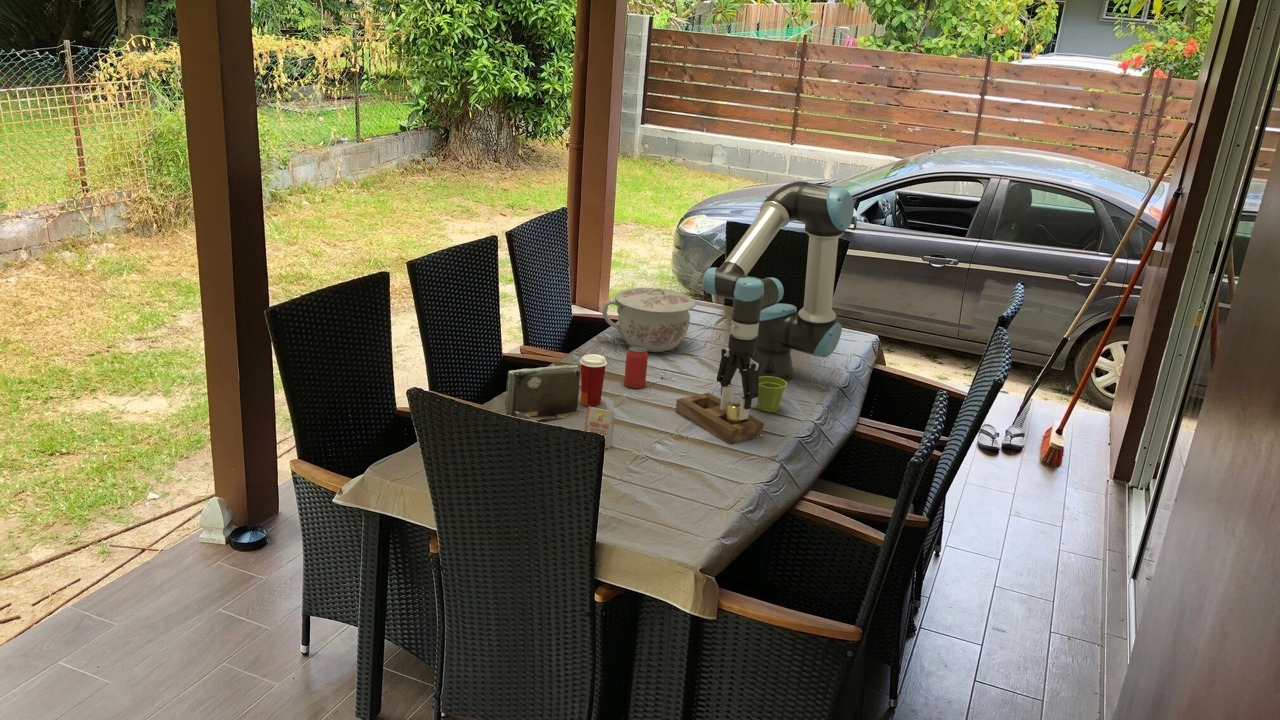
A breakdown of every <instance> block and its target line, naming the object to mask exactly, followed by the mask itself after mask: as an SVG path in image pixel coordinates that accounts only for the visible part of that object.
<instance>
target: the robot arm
mask: <svg viewBox="0 0 1280 720" xmlns="http://www.w3.org/2000/svg"><path fill="white" fill-rule="evenodd" d="M854 206H855V205H854V199H853V197H852V194H851V193H850V191H848V190H847V189H845V188H844V189H843V188H839V187H837V186H835V185H834V186H830V185H825V184H820V183H813V182H807V181H803V180H801V181H800V180H799V181H793V182H790V183H789V182H788V183H787V184H785V185H782V186H781V187H780V188H777V189H775V190H774V191H773V192H772V193H771V194H769V196H767V197H766V198H765V200H764V201H763V203H762V204H761V205H760V207H759V213H758V214H757V216H756V218H755V219H754V220H753V222H752V223H751V225H749V227H748V228H747V230H746V232H745V233H744V234H743V236H742V237H741V238H740V240H739V241H738V242H737V244H736V245H735V246H734V247H733V250H731V252H730V253H729V255H728V256H727V258H726V259H725V260H724V262H723V263H722V264H721V265H720V266H719V267H710V268H707V270H706V271H705V272H704V275H703V278H702V288H703V291H704V292H705V293H707V294H710V295H713V296H715V297H720V298H723V299H724V298H725V299H727V300H728V299H729V300H732V301H733V303H732V310H731V311H732V313H731V314H732V315H731V320H730V321H731V322H730V328H729V333H730V334H729V335H728V336H729V337H728V345H727V348H722V349H721V351H720V352H721V354H720V355H721V357H720V363H719V366H718V367H719V368H718V370H717V371H718V372H717V376H716V382H719V383H720V386H721V388H720V397H721V398H720V399H721V405H720V409H726V408H727V407H728V403H730V402H731V397H732V395H731V394H732V387H733V386H731V385H732V383H731V382H732V380H733V378H734V376H735V373H736V371H737V369H738V372H739V374H740V376H741V383H742V384H741V385H742V392H743V396H742V397H741V399H740V400H741V401H740V403H741V406H740V414H739V420H744V419H748V415H750V409H751V408H752V401H753V399H756V398H757V399H758V392H759V377H762V376H772V377H777V378H780V379H783V380H787V381H789V379H790V380H791V379H792V378H793V377H792V376H794V367H793V362H792V355H791V350H794V351H797V352H801V353H804V354H808V355H811V356H813V357H820V358H827V357H829V356H831V355H832V354H833V352H834V351H835V349H836V347H837V346H838V344H839V342H840V338H841V335H842V332H843V327H842V324H841V323H840V322H838V321H837V322H836V319H837V315H836V312H835V311H834V310H833V309H832V308H833V298H834V289H835V288H834V287H835V279H836V269H837V256H838V245H839V239H840V238H841V236H843V235H844V233H845V231H846V230H848V229H849V228H850V227H851V224H852V222H853V218H854V212H855V210H854V209H855V207H854ZM791 221H797V222H802V223H804V232H805V233H806V234H807V236H808V249H807V260H806V261H807V262H806V274H805V287H804V299H803V307H802V308H800V309H799V311H798V309H797V306H795V305H794V304H790V303H789V304H788V303H779V302H781V300H782V299H783V297H784V292H785V291H784V286H783V283H782V282H781V281H780V279H778V278H775V277H765V278H759V277H755V276H752V275H751V276H750V275H748V274H749V273H750V272H751V270H752V269H753V268H754V266H755V264H756V263H757V262H758V260H759V259H760V257H761V256H762V255H763V254H764V252H765V251H766V249H767V248H768V247H769V244H771V242H772V240H773V239H774V238H775V236H776V235H777V234H778V232H779V231H780V230H781V228H784V227H786V226H787V225H788V224H789V223H790V222H791ZM797 311H798V312H797Z"/></svg>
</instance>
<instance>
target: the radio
mask: <svg viewBox="0 0 1280 720" xmlns="http://www.w3.org/2000/svg"><path fill="white" fill-rule="evenodd" d="M579 366H580V365H579V364H570V365H569V364H568V365H567V364H563V365H556V366H554V365H552V366H546V367H545V366H544V367H541V366H540V367H536V368H521V369H516V370H514V369H513V370H509V371H508V372H507V380H506V384H505V385H506V391H505V392H506V393H505V394H506V397H505V399H504V400H505V401H504V407H505V409H504V410H505V411H504V413H503V414H506V415H511V416H514V417H519V418H524V419H531V420H536V421H539V422H542V421H541V420H546V421H551V420H558V419H564V418H567V417H568V416H570V415H574V414H578V413H579V410H578V406H579V405H578V404H579V395H580V386H581V367H579ZM535 418H536V419H535ZM537 419H540V420H537Z"/></svg>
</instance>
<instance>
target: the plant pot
mask: <svg viewBox="0 0 1280 720" xmlns="http://www.w3.org/2000/svg"><path fill="white" fill-rule="evenodd" d="M787 386H788V382H787V381H785V380H783V379H780V378H777V377H772V376H762V377H759V392H758V397H757V409H758V408H759V409H760V411H761V410H762V411H761V412H767V413H775V412H774V411H776V412H778V411H779V408H780V404H781V402H782V397H783V393H784V391H785V390H786V387H787ZM759 409H758V410H759Z"/></svg>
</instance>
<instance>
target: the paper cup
mask: <svg viewBox="0 0 1280 720" xmlns="http://www.w3.org/2000/svg"><path fill="white" fill-rule="evenodd" d="M579 363H580V372H581V373H580V402H581V403H580V404H582V405H583V406H584V407H587V408H588V407H593V408H597V407H598V405H599V406H601V401H602V393H603V389H604V388H603V387H604V379H605V373H606V366H607V364H608V362H607V360H606V357H605V356H603V355H600V354H594V353H588V354H584V355H582V357H581V359H580V360H579Z"/></svg>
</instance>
